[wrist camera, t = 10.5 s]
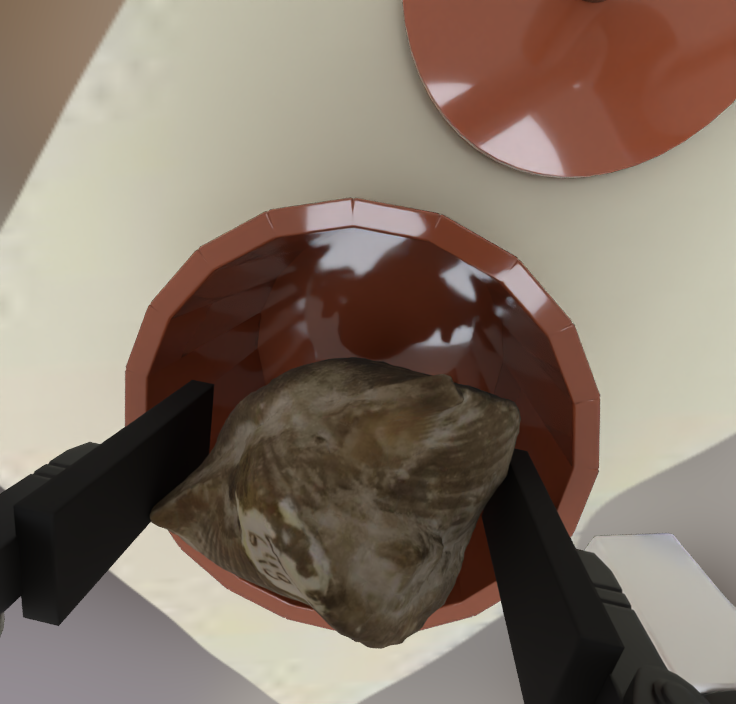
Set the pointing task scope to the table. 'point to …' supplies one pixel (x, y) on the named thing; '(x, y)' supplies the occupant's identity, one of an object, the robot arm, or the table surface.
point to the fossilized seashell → (349, 491)
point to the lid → (575, 76)
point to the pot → (375, 343)
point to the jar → (676, 609)
